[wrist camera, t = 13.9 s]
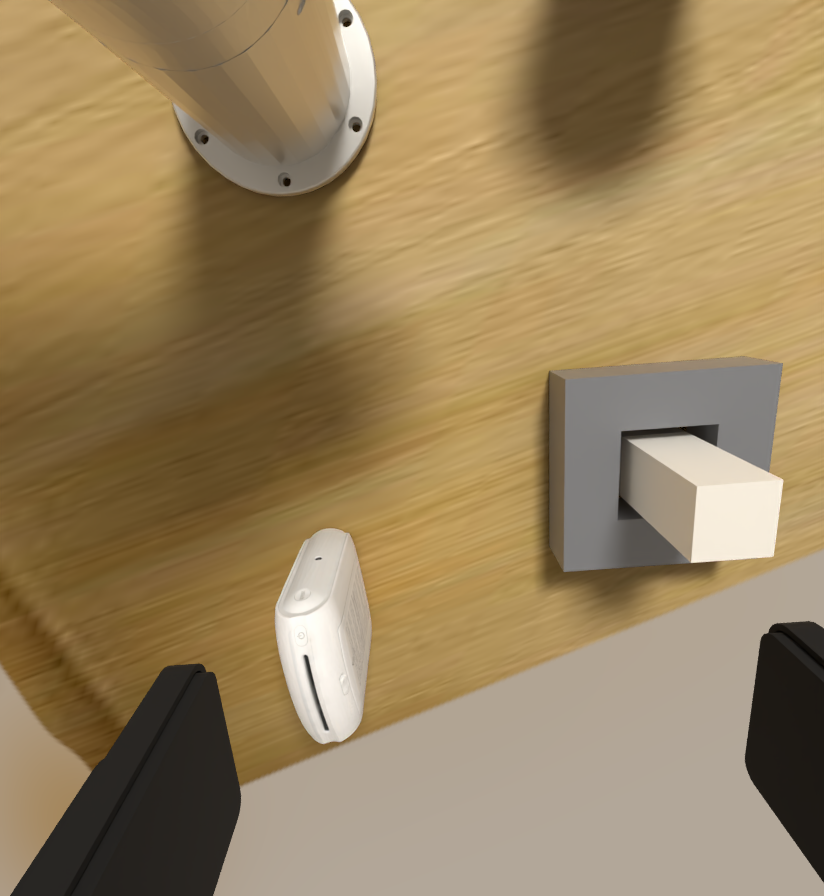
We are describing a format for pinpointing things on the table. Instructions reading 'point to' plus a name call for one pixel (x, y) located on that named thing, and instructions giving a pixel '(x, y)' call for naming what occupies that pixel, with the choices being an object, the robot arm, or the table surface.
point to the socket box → (637, 408)
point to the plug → (699, 495)
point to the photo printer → (325, 635)
